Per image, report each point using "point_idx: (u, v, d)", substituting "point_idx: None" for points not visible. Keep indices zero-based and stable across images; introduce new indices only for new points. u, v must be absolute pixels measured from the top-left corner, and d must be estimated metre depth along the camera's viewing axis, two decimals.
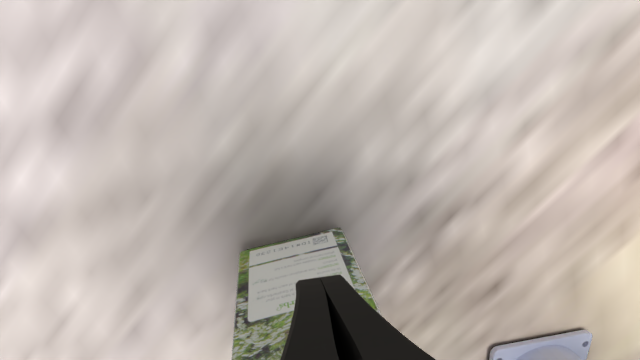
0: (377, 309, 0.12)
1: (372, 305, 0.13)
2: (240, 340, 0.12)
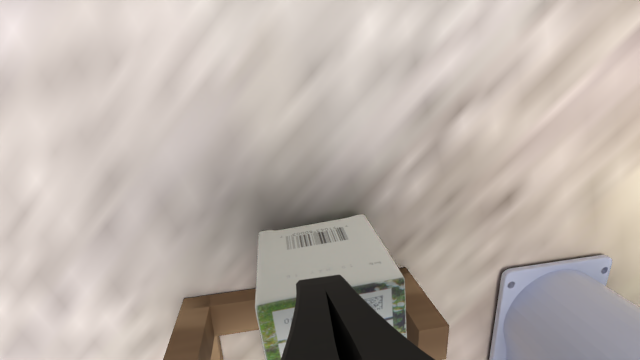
0: None
1: None
2: None
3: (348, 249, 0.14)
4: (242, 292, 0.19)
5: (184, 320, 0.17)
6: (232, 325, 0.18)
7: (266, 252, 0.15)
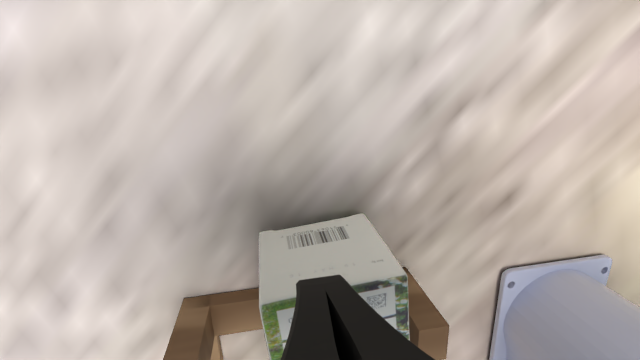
0: None
1: None
2: None
3: (350, 248, 0.14)
4: (242, 292, 0.19)
5: (184, 320, 0.17)
6: (232, 324, 0.18)
7: (268, 252, 0.15)
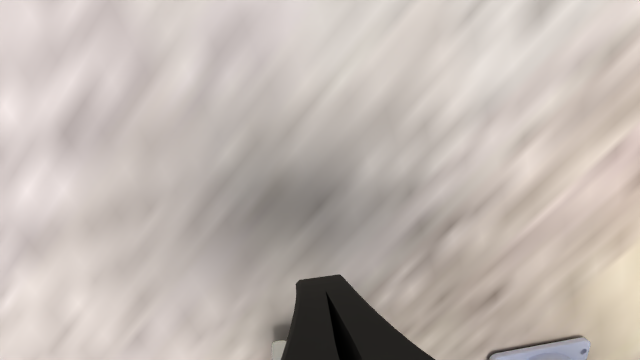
0: None
1: None
2: None
3: None
4: None
5: None
6: None
7: None
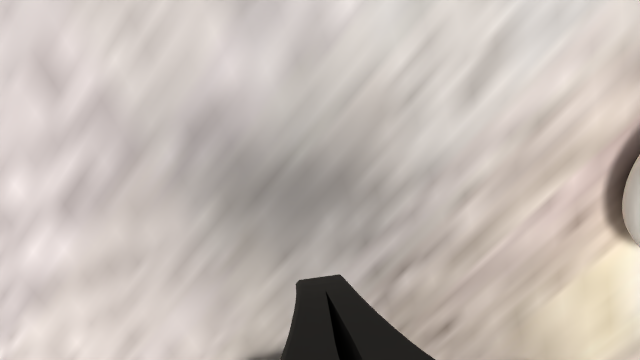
0: None
1: None
2: None
3: None
4: None
5: None
6: None
7: None
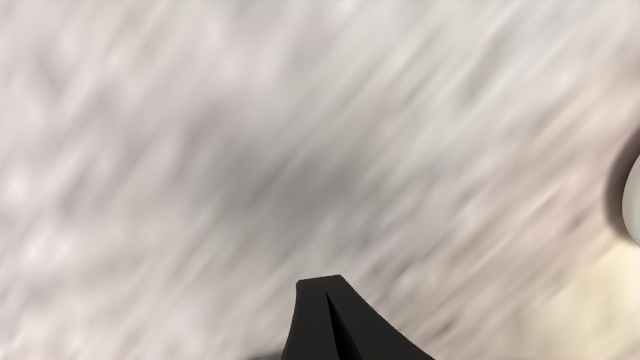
0: None
1: None
2: None
3: None
4: None
5: None
6: None
7: None
